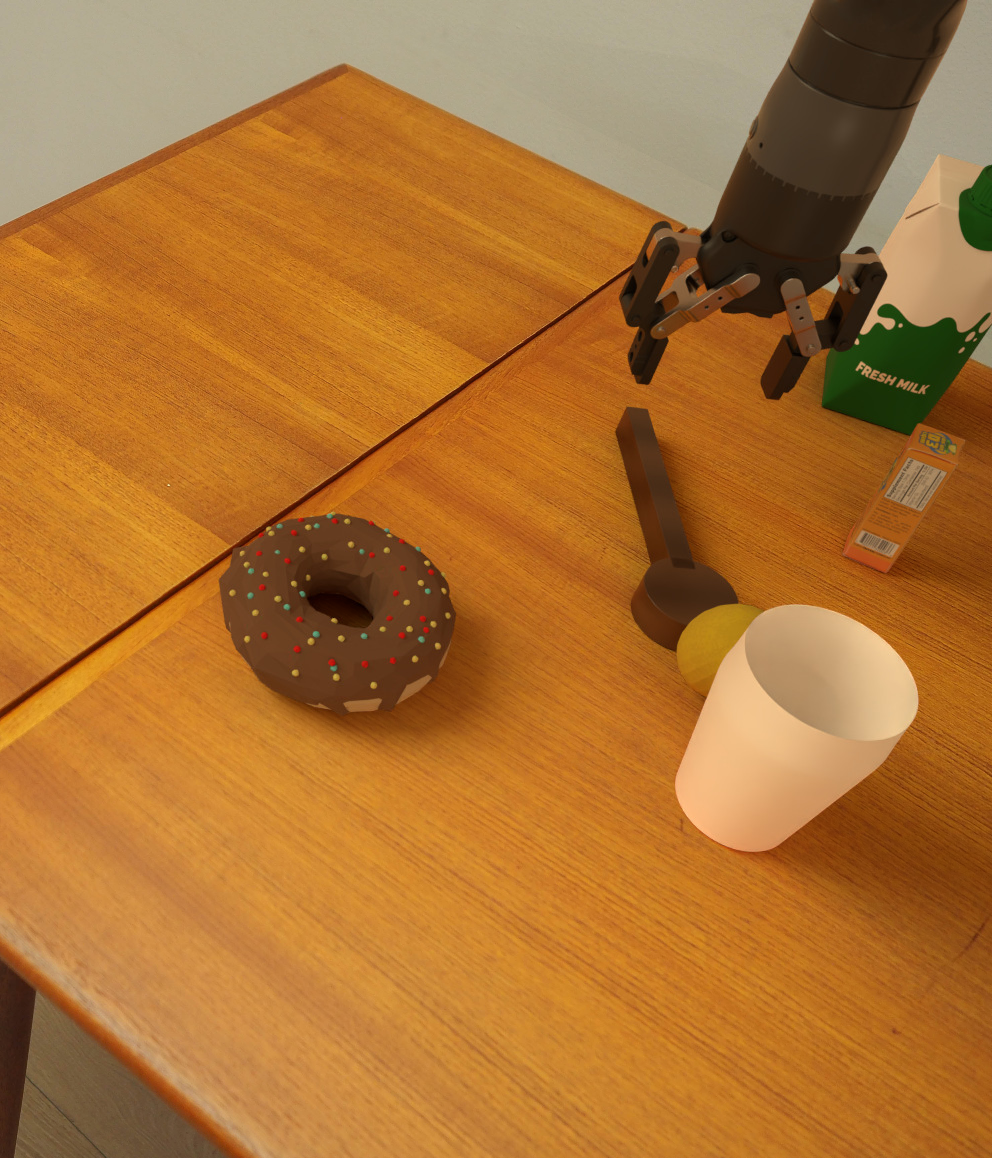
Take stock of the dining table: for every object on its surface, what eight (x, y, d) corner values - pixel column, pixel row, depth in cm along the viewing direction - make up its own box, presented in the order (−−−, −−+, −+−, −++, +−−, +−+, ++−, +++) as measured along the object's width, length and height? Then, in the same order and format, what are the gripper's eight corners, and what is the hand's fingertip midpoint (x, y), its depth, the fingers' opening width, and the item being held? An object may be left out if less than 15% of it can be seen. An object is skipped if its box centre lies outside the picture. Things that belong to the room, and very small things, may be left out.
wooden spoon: (585, 427, 96) (596, 402, 94) (665, 437, 96) (677, 412, 94) (640, 648, 81) (654, 623, 80) (733, 658, 82) (749, 633, 80)
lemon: (650, 701, 79) (712, 673, 71) (660, 614, 81) (721, 578, 73) (738, 721, 79) (809, 695, 72) (746, 634, 81) (816, 600, 73)
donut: (327, 524, 85) (342, 467, 82) (487, 655, 79) (511, 600, 76) (161, 622, 78) (170, 564, 74) (324, 775, 72) (341, 721, 68)
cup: (622, 793, 74) (707, 658, 65) (704, 711, 78) (794, 575, 70) (762, 903, 70) (873, 776, 61) (839, 810, 75) (951, 680, 66)
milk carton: (808, 410, 101) (946, 176, 86) (815, 346, 107) (945, 118, 92) (924, 448, 99) (1084, 216, 85) (924, 381, 105) (1074, 155, 91)
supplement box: (846, 527, 92) (919, 417, 84) (894, 549, 91) (973, 440, 83) (835, 554, 90) (910, 444, 82) (885, 577, 89) (965, 468, 81)
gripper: (705, 174, 69) (605, 410, 81) (964, 206, 70) (827, 435, 82) (677, 105, 75) (586, 336, 86) (918, 136, 75) (796, 361, 87)
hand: (704, 384), depth 84 cm, fingers open, 8 cm apart
